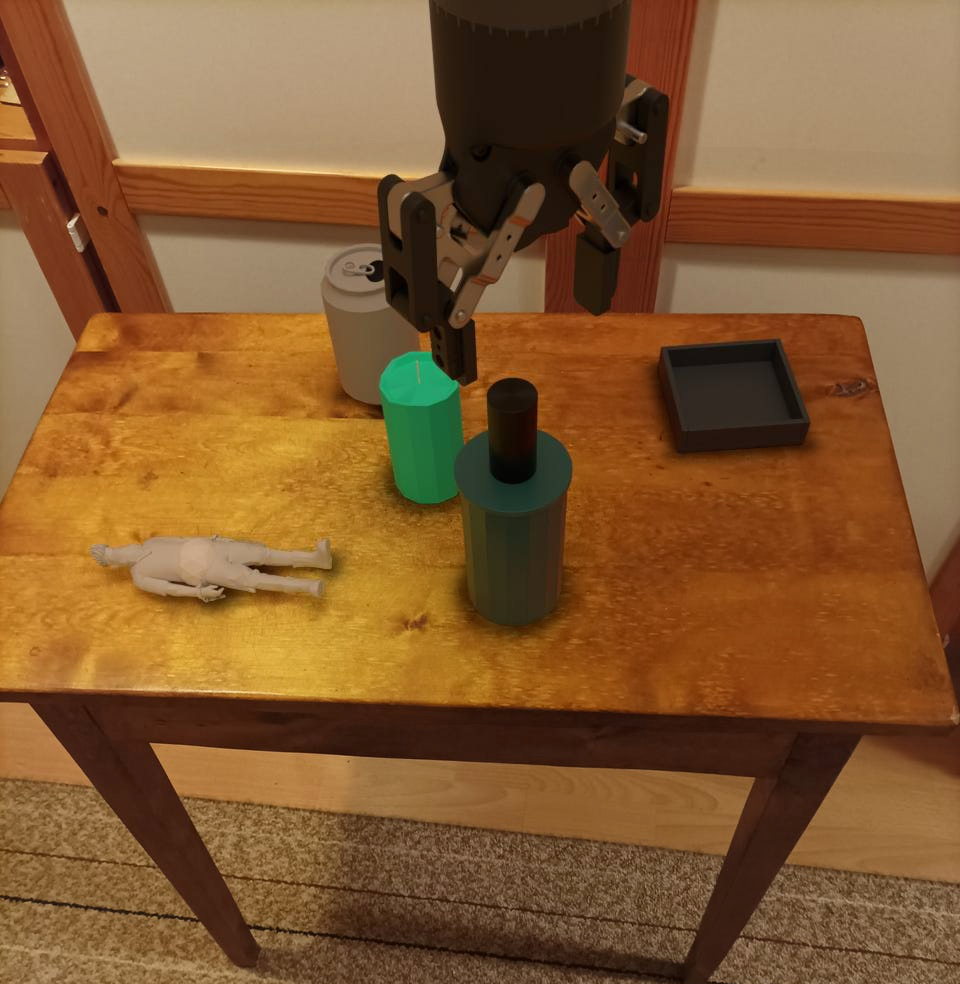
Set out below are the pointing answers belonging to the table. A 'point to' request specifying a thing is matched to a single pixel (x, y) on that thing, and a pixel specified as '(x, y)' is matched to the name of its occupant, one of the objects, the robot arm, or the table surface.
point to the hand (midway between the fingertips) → (527, 340)
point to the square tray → (732, 396)
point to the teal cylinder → (514, 562)
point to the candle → (422, 426)
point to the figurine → (212, 565)
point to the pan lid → (513, 457)
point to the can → (363, 321)
